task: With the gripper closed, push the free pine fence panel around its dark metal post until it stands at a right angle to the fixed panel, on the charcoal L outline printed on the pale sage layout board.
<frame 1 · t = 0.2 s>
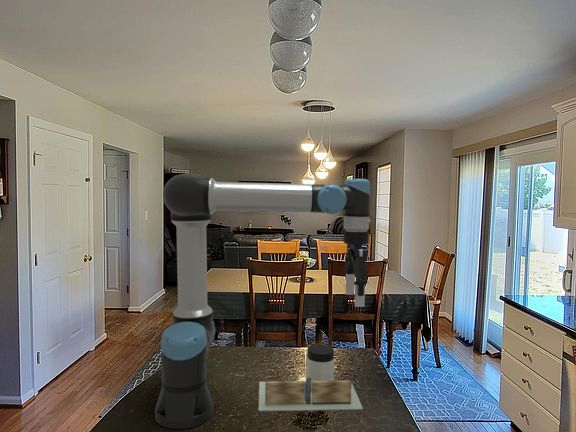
hand: (354, 300, 127), 28 cm above the kitchen island, fingers open, 13 cm apart
layout board: (308, 395, 124), on the kitchen island
hinge post: (308, 404, 119), resting on layout board
fixed panel: (331, 403, 119), resting on layout board
jar: (319, 387, 129), resting on layout board
fence panel: (284, 392, 118), point 4 cm above the kitchen island, hinge at 90.0°
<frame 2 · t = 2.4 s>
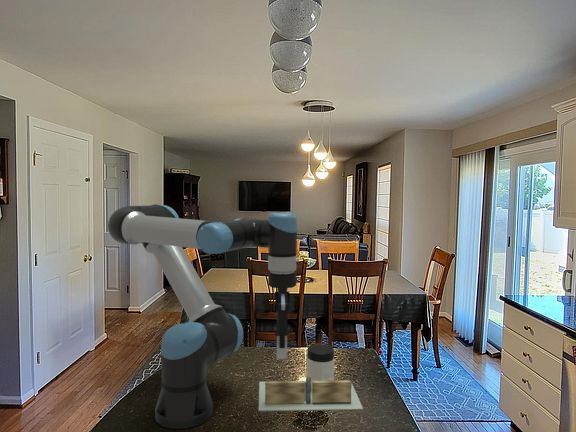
hand: (281, 357, 113), 16 cm above the kitchen island, fingers closed
nothing on the kitchen island moved.
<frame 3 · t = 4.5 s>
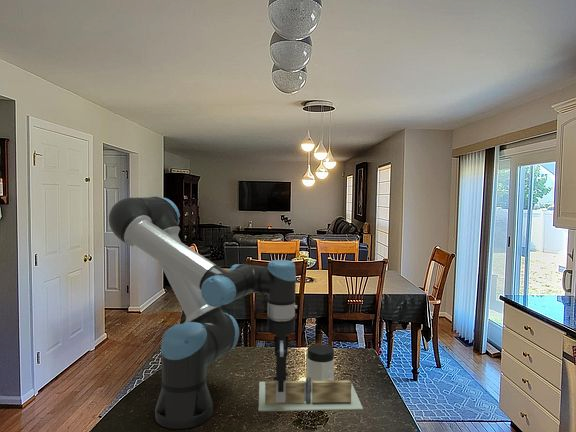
hand: (280, 400, 116), 2 cm above the kitchen island, fingers closed
fence panel: (284, 392, 118), point 4 cm above the kitchen island, hinge at 89.9°, touching gripper
everything else where it was.
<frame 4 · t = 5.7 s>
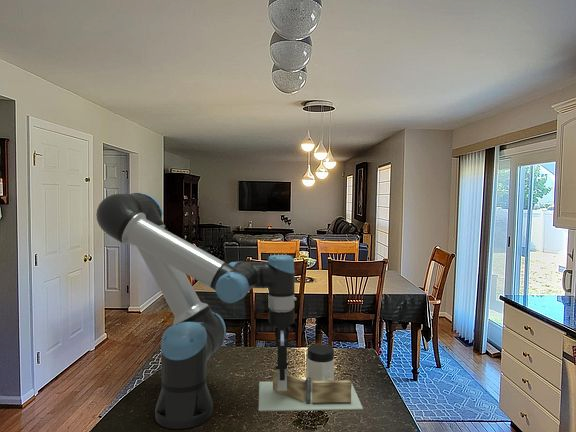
hand: (282, 389, 121), 3 cm above the kitchen island, fingers closed
fence panel: (289, 385, 123), point 4 cm above the kitchen island, hinge at 51.4°, touching gripper
everything else where it was.
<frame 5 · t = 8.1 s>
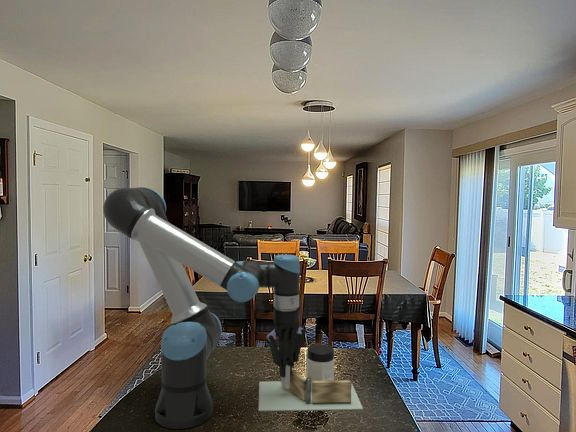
hand: (285, 386, 124), 3 cm above the kitchen island, fingers closed
fence panel: (294, 382, 124), point 4 cm above the kitchen island, hinge at 33.0°, touching gripper
everything else where it was.
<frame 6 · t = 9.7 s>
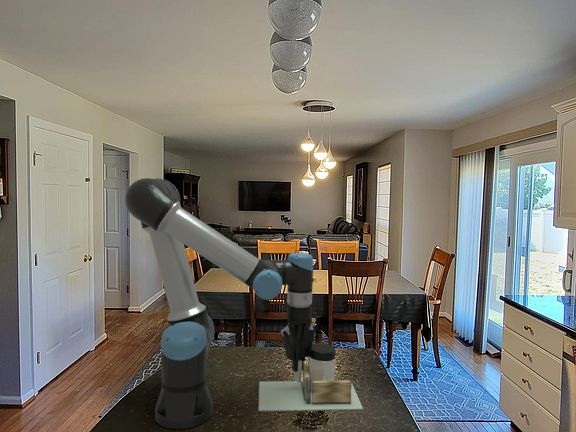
hand: (297, 380, 128), 3 cm above the kitchen island, fingers closed
jar: (319, 386, 129), resting on layout board, touching fence panel, hand
fence panel: (306, 380, 125), point 4 cm above the kitchen island, hinge at -0.3°, touching gripper, jar
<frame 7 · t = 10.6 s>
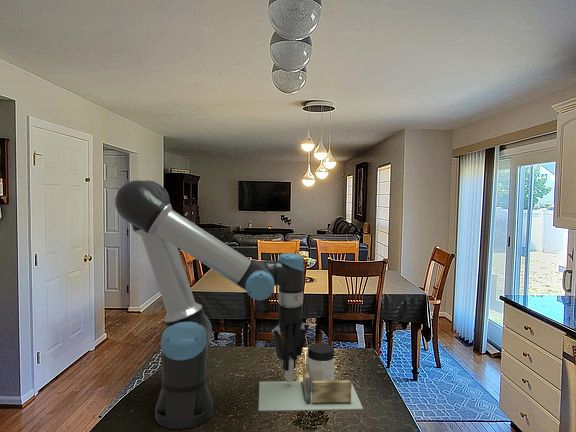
hand: (289, 379, 129), 2 cm above the kitchen island, fingers closed
jar: (320, 387, 129), resting on layout board
fence panel: (306, 380, 125), point 4 cm above the kitchen island, hinge at -0.8°
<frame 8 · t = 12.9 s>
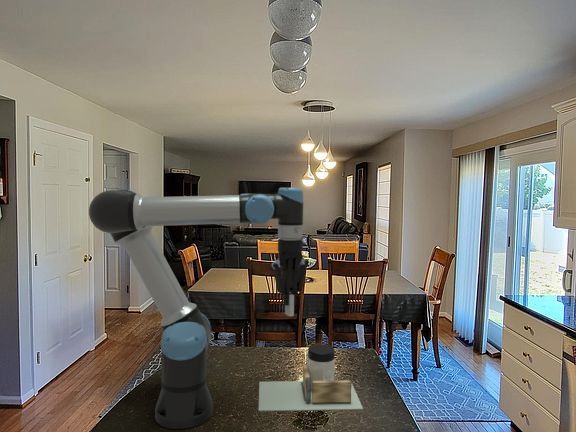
hand: (289, 315, 128), 22 cm above the kitchen island, fingers closed
nothing on the kitchen island moved.
at the end: fence panel at -1° (first picture: +90°) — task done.
